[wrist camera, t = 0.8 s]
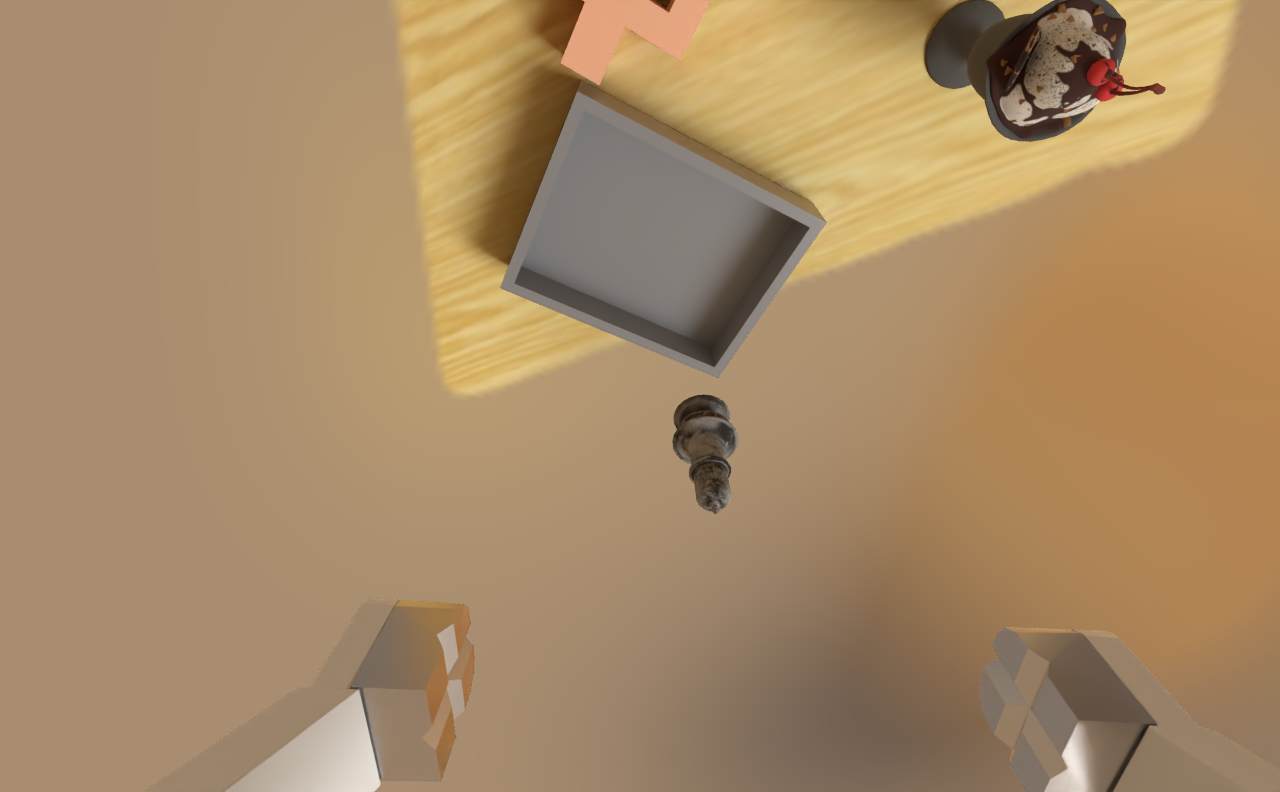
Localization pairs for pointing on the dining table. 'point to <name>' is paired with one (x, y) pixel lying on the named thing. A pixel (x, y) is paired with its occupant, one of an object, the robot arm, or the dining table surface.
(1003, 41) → the sundae
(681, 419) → the salt shaker
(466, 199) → the dining table surface
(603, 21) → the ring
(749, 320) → the tray
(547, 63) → the dining table surface
